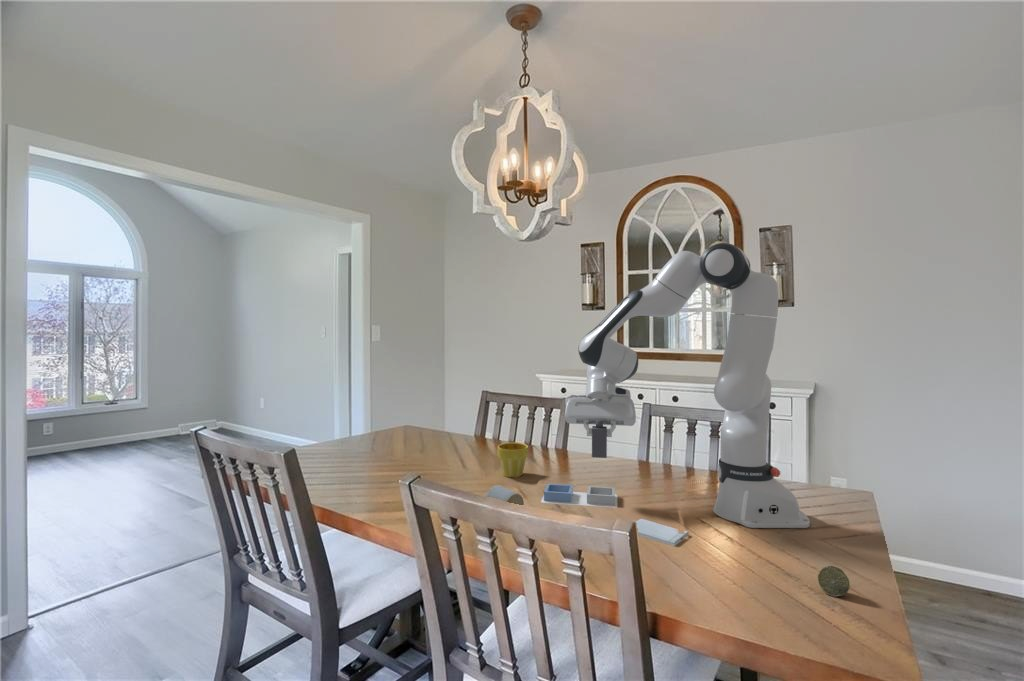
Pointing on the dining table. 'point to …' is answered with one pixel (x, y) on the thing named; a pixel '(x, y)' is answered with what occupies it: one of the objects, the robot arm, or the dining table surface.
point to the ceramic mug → (505, 495)
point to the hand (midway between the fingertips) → (599, 435)
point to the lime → (833, 581)
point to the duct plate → (580, 496)
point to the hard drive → (660, 532)
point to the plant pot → (512, 458)
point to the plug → (599, 440)
